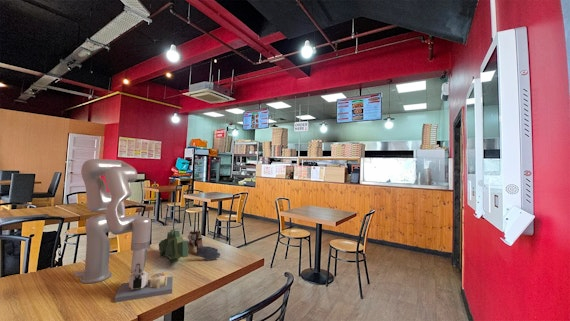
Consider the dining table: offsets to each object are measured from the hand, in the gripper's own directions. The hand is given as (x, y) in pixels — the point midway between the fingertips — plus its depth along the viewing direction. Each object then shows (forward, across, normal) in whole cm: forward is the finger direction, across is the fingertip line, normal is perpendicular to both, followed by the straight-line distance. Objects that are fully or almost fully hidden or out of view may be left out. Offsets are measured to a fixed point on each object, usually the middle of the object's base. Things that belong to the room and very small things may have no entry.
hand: (138, 283), depth 111 cm
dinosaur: (+4, -33, +16) cm, 37 cm away
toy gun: (+4, -50, +28) cm, 58 cm away
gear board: (+4, 0, +3) cm, 5 cm away
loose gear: (+1, 0, 0) cm, 1 cm away
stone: (+4, -26, +34) cm, 44 cm away
